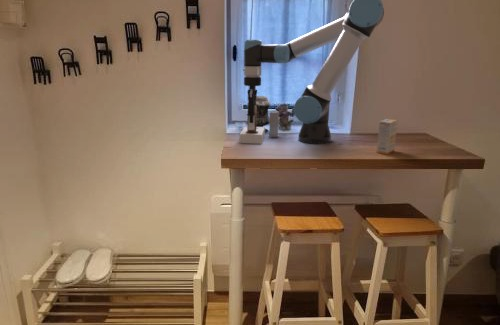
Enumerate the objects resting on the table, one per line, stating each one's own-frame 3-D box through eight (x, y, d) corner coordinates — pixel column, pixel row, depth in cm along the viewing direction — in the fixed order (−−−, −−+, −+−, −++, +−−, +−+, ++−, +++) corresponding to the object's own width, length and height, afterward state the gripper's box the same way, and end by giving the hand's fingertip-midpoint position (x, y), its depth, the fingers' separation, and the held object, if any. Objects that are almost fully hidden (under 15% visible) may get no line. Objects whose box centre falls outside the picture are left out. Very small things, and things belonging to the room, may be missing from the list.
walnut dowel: (256, 135, 171) (256, 105, 167) (255, 137, 167) (256, 106, 164) (247, 135, 172) (248, 105, 168) (246, 137, 168) (247, 106, 164)
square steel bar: (277, 135, 182) (278, 111, 179) (277, 137, 178) (278, 112, 175) (269, 135, 183) (270, 111, 179) (269, 137, 179) (269, 112, 176)
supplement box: (383, 149, 157) (386, 118, 154) (394, 150, 154) (398, 119, 151) (375, 152, 151) (379, 120, 148) (387, 154, 148) (391, 122, 145)
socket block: (264, 134, 184) (265, 126, 183) (261, 143, 165) (261, 134, 164) (245, 134, 185) (245, 126, 184) (239, 142, 166) (239, 134, 165)
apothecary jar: (259, 128, 202) (260, 94, 197) (274, 131, 193) (275, 96, 188) (242, 130, 195) (242, 96, 190) (257, 134, 186) (258, 98, 181)
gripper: (246, 75, 171) (246, 125, 177) (241, 77, 154) (241, 132, 161) (262, 75, 170) (261, 125, 176) (259, 77, 154) (258, 132, 160)
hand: (251, 128), depth 169 cm, fingers closed on walnut dowel, 4 cm apart
